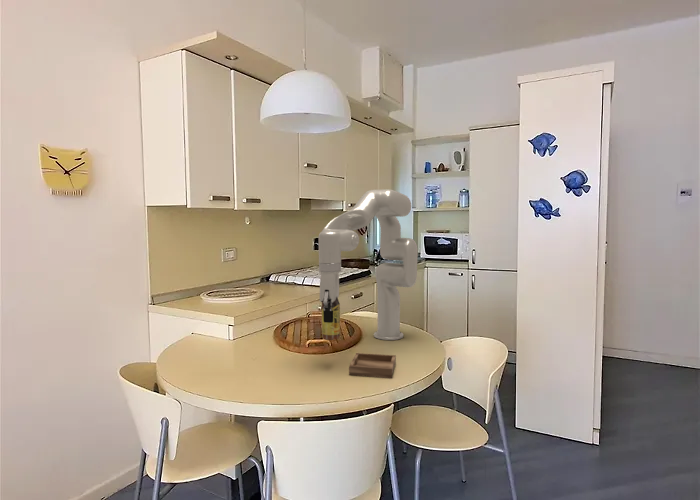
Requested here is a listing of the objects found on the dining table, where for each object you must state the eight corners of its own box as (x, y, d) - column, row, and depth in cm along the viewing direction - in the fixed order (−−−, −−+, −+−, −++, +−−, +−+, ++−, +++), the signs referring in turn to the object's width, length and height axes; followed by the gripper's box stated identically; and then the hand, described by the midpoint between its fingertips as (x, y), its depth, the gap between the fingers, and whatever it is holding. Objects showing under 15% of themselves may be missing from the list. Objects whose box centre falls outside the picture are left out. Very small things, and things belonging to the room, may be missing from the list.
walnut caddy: (356, 361, 158) (356, 352, 158) (395, 363, 155) (395, 355, 155) (349, 375, 144) (349, 366, 144) (391, 378, 142) (392, 369, 141)
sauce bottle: (337, 341, 149) (336, 283, 146) (319, 340, 150) (318, 282, 148) (342, 335, 155) (341, 279, 153) (324, 334, 156) (323, 279, 154)
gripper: (325, 264, 159) (326, 313, 161) (312, 271, 142) (313, 325, 144) (345, 264, 158) (346, 313, 159) (335, 271, 141) (336, 326, 143)
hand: (330, 319), depth 152 cm, fingers closed on sauce bottle, 6 cm apart
